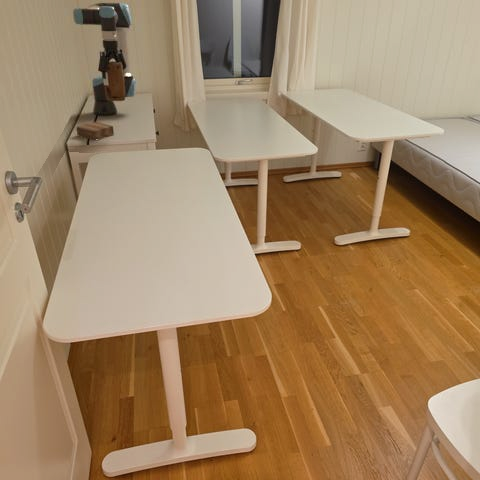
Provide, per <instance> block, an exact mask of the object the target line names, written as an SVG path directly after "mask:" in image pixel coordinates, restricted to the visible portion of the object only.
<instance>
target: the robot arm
mask: <svg viewBox="0 0 480 480" xmlns="http://www.w3.org/2000/svg"><path fill="white" fill-rule="evenodd" d="M72 13H73V16H72V17H73V21H74V24H75V25H85V26H87V25H88V26H90V25H91V26H93V25H94V26H100V29H101V30H100V31H101V38H102V48H103V49H104V50H103V51H101V50H100V51H99V61H98V69H97V71H98V72H100V73H101V75H99V76H95V77H93V79H92V89H93V98H94V105H93V110H92V111H93V115H95V116H99V117H110V116H114V115H117V114H118V109H117V107H116V104H115V101H108V100H107V99H106V95H105V87H104V85H109V84H108V75H107V72H106V70H107V67H108V64H109V62H111V60H113V59H114V62H121V63H122V66H123V75H124V84H125V98H133V97H135V96H136V95H135V93H136V84H137V83H136V81H137V80H136V78H135V77H134V75H133V74H132V73H131V65H130V51H129V39H128V38H129V37H128V36H129V35H128V31H129V29H130V26H132V24H133V23H132V17H131V11H130V7H129V5H128V4H127V3H122V2H120V3H119V2H116V3H115V2H100V3H94V4H90V5H89V6H87V7H85V8H80V7H78V8H74V9H73V12H72Z"/></svg>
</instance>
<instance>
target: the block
mask: <svg viewBox="0 0 480 480" xmlns="http://www.w3.org/2000/svg"><path fill="white" fill-rule="evenodd" d="M106 72H107V75H108V84H109V85H104V87H105V95H106V99H107V100H108V101H113V102H123V101H125V100H126V97H125V84H124V75H123V66H122V63H121V62H115V60H114V61H111V60H110V61H109V64H108V67H107V70H106Z"/></svg>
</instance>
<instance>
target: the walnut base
mask: <svg viewBox="0 0 480 480" xmlns="http://www.w3.org/2000/svg"><path fill="white" fill-rule="evenodd" d="M75 128H76V135H77V136H78V135H79V136H78V137H81V136H82V137H81V138H84V137H86V138H85V139H87V138H88V140H91V139H92V140H91V141H94V140H95V141H97V140H96V139H98V140H101V139H100V138H102V139H104V137H105V138H107V137H111V136H114V135H115V134H114V126H113V125H110V124H106V123H102V122H97V121H93V122H89V123H84V124H82V125H79V126H76V127H75Z"/></svg>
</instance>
